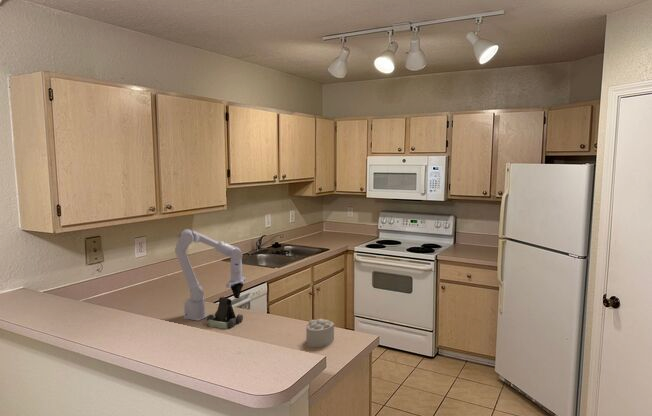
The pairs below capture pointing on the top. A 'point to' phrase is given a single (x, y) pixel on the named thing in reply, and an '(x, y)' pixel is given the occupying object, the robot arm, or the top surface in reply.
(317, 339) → the lumpy-topped squat cylinder
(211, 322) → the chassis bay
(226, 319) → the phone stand
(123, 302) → the top surface
